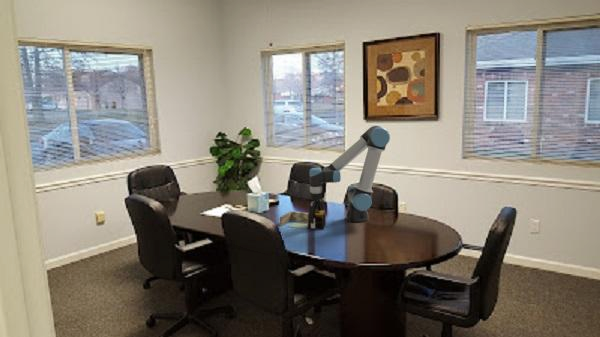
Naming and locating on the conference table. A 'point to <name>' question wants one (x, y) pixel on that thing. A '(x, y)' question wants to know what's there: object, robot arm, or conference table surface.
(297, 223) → the pad
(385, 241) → the conference table surface
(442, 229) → the conference table surface
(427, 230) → the conference table surface
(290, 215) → the arena
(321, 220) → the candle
